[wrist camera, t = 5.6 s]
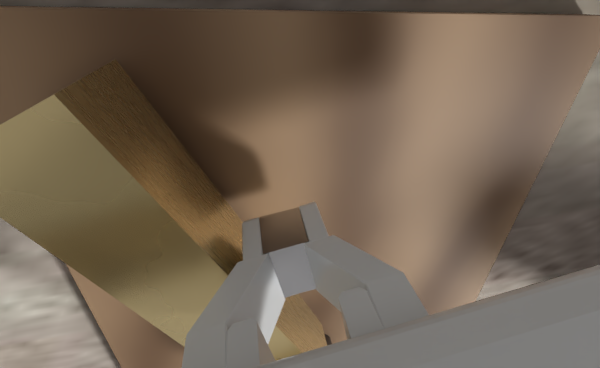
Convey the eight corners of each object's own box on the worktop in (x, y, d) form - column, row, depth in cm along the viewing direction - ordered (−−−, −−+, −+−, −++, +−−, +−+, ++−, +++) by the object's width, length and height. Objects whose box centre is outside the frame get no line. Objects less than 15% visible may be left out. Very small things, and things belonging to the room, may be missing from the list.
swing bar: (359, 353, 16) (401, 471, 12) (299, 380, 17) (320, 504, 13) (137, 47, 7) (17, 115, 3) (10, 119, 7) (-251, 267, 3)
